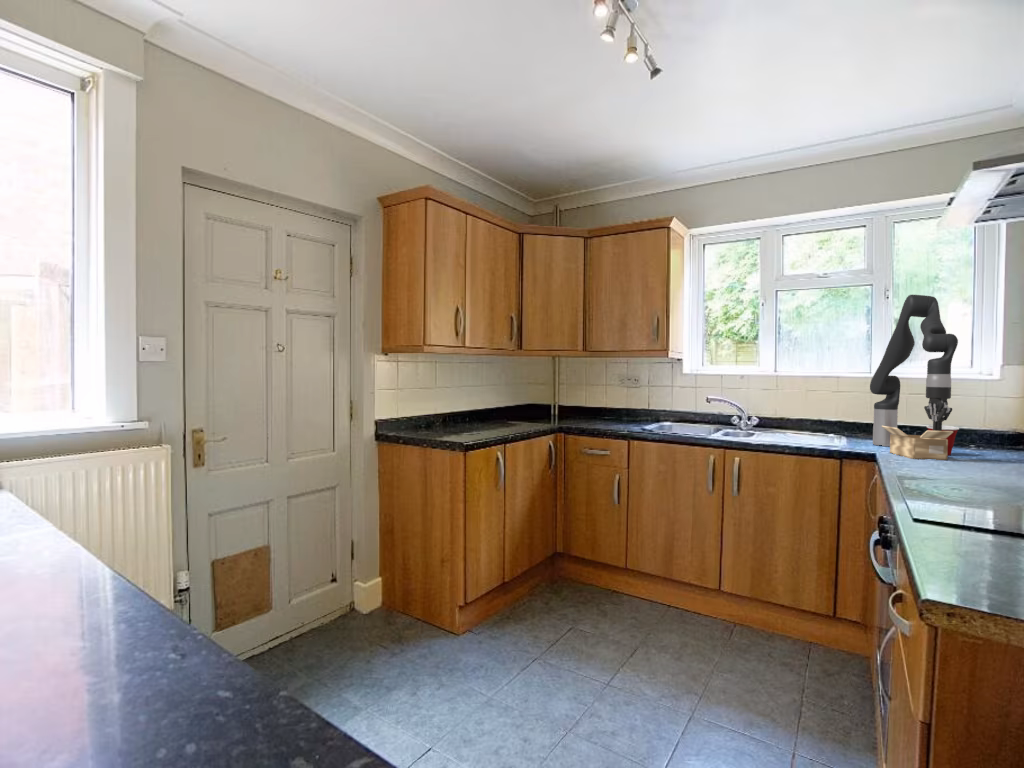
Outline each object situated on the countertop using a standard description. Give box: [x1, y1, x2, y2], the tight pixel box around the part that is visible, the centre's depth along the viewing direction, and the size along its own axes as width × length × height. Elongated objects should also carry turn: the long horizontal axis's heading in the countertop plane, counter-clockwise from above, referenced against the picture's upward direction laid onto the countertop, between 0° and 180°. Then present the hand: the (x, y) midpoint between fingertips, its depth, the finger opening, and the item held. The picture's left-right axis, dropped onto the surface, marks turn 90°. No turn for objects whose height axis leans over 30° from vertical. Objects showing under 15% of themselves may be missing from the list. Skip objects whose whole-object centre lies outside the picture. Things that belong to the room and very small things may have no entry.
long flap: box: [882, 426, 909, 437], centre depth 214 cm, size 11×5×1 cm
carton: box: [889, 434, 948, 461], centre depth 213 cm, size 16×12×8 cm
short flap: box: [920, 429, 953, 439], centre depth 202 cm, size 9×5×1 cm
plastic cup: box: [926, 424, 960, 457], centre depth 221 cm, size 11×11×12 cm
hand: (937, 431), depth 202 cm, fingers closed
